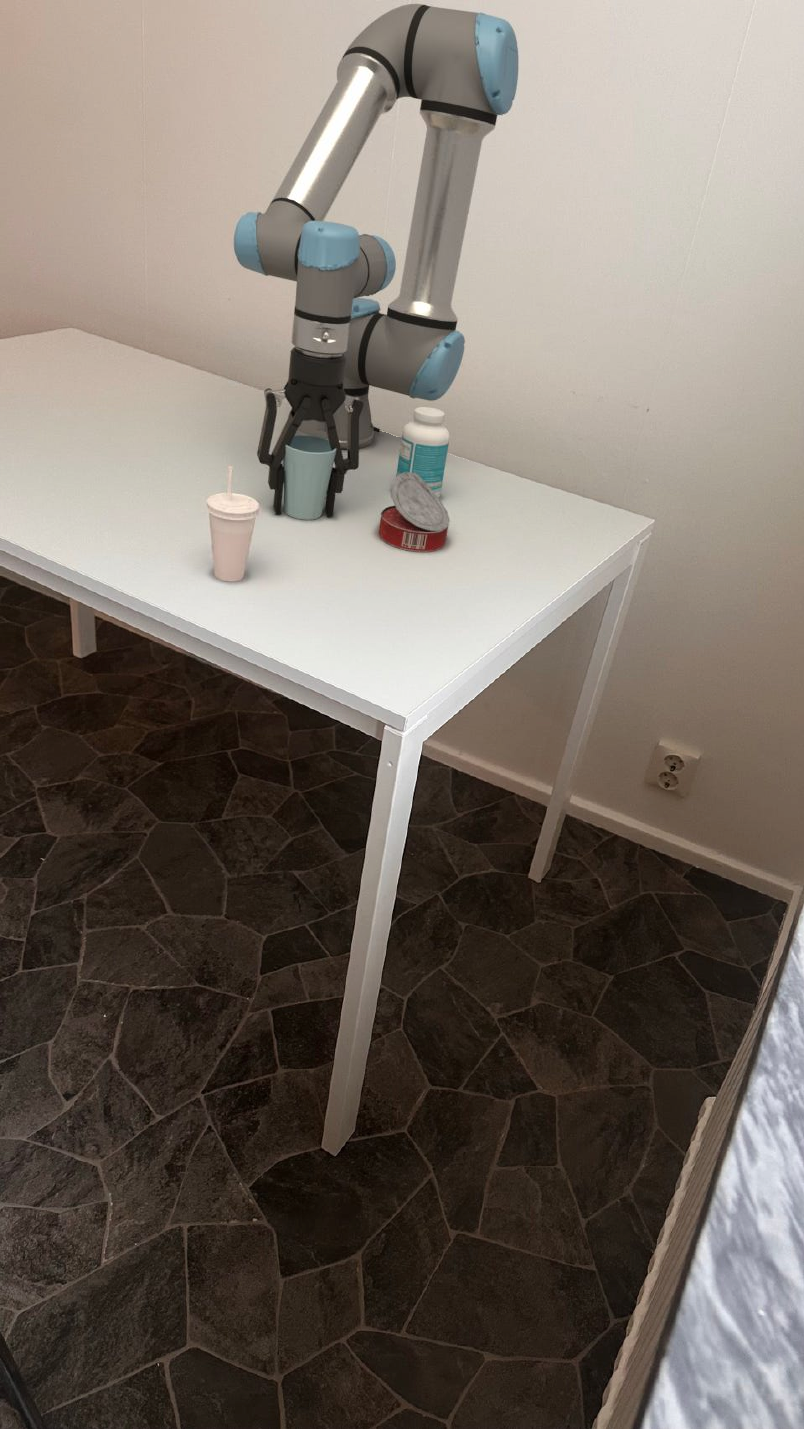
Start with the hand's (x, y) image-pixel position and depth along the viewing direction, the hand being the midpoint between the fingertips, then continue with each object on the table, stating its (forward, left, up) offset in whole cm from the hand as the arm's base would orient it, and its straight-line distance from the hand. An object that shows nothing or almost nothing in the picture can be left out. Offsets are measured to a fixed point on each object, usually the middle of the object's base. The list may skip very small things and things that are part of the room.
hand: (303, 511), depth 145 cm
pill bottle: (-22, +2, 0) cm, 22 cm away
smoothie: (+22, +12, 0) cm, 25 cm away
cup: (0, 0, 0) cm, 0 cm away
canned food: (-9, +14, 0) cm, 17 cm away
